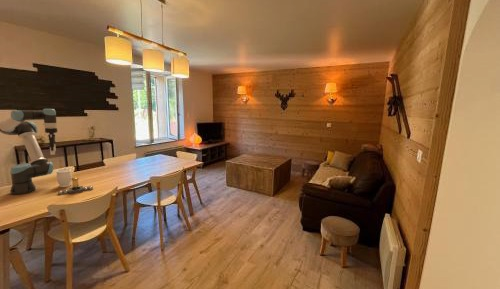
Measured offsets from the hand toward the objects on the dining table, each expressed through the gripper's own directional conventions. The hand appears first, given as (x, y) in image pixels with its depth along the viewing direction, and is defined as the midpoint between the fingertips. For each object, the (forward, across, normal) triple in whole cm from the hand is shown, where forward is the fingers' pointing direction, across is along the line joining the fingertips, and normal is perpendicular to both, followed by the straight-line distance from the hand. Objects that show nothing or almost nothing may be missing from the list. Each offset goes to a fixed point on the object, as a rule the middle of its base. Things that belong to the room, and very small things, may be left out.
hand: (53, 152), depth 180 cm
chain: (+34, +6, +13) cm, 37 cm away
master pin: (+34, +6, +13) cm, 37 cm away
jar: (+35, -14, +5) cm, 38 cm away
